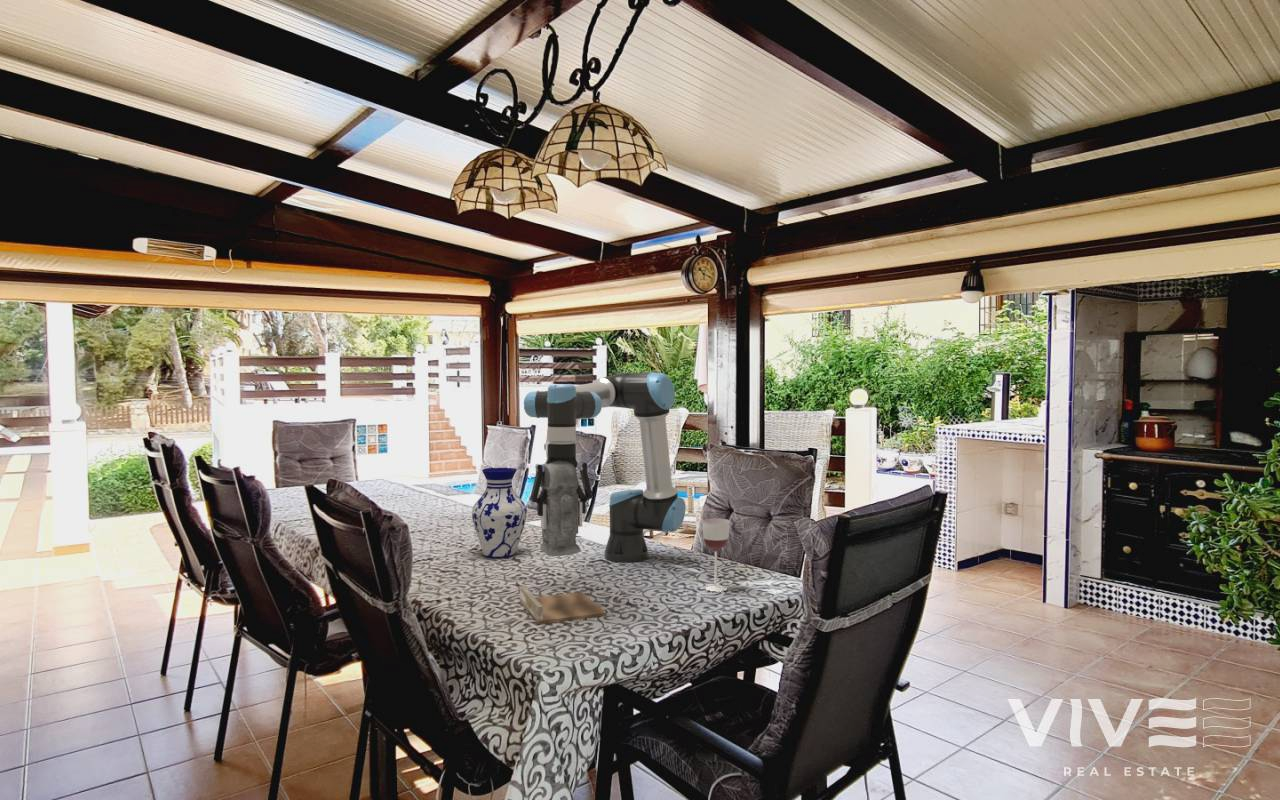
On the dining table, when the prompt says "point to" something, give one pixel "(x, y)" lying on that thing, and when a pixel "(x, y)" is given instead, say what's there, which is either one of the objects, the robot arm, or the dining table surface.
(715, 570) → the wineglass
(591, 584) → the dining table surface
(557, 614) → the shelf board
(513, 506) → the vase
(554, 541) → the figurine
